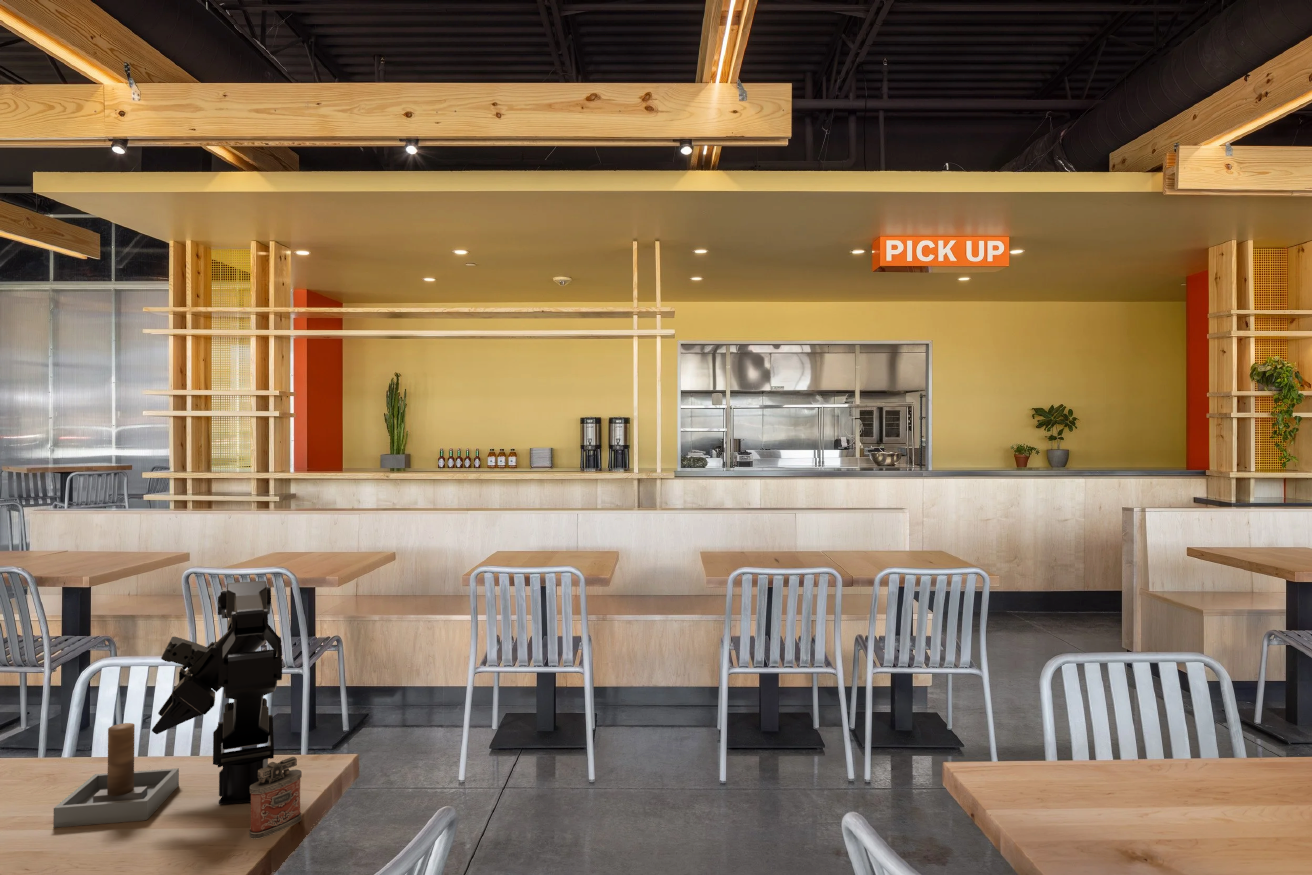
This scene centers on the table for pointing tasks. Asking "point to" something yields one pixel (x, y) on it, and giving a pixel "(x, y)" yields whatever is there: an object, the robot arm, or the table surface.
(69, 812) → the tray
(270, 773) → the lighter
